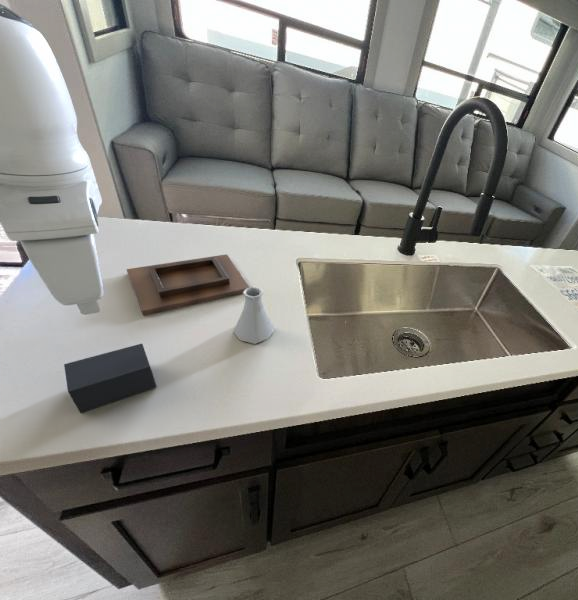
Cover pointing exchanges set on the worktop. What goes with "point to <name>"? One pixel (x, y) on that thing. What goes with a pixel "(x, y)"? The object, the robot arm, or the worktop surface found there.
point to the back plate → (185, 283)
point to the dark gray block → (108, 377)
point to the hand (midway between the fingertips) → (85, 289)
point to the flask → (253, 318)
